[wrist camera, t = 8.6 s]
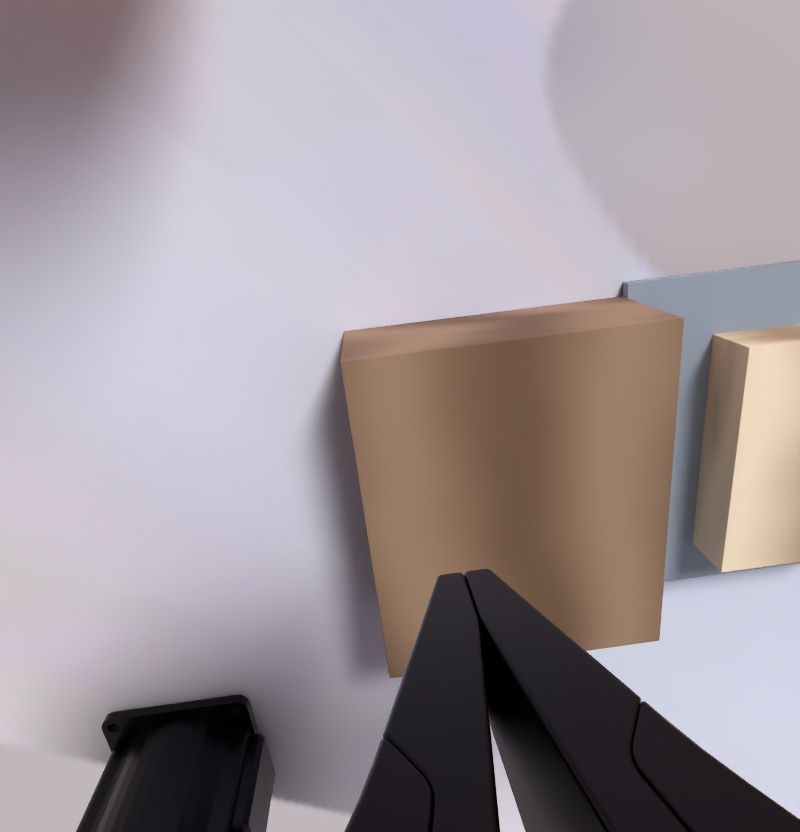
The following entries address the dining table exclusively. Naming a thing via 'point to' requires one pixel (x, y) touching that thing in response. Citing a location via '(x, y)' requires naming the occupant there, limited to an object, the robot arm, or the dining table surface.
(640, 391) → the brown wooden flat block
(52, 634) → the dining table surface
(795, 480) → the beige rectangular block
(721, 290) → the mat
